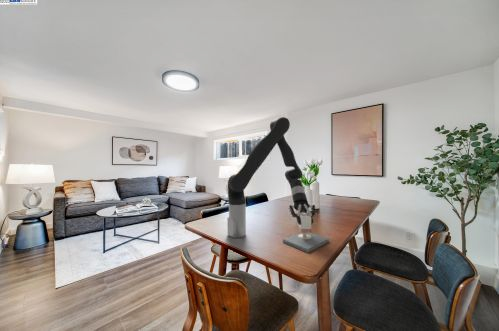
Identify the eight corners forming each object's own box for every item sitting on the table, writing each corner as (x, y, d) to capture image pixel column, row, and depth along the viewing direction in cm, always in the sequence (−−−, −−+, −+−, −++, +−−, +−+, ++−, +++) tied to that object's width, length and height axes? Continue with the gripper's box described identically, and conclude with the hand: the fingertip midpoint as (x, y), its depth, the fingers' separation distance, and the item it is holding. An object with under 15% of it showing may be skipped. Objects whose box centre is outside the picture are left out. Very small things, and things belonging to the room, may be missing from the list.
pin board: (308, 252, 78) (307, 240, 78) (282, 242, 89) (282, 231, 89) (328, 241, 89) (328, 230, 89) (304, 233, 100) (304, 223, 100)
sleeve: (311, 232, 89) (311, 216, 89) (301, 232, 89) (301, 216, 89) (308, 229, 94) (308, 213, 94) (298, 229, 94) (298, 213, 94)
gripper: (287, 192, 99) (292, 220, 87) (313, 191, 99) (322, 220, 87) (285, 199, 105) (290, 227, 92) (310, 199, 105) (318, 227, 92)
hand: (305, 223), depth 90 cm, fingers closed on sleeve, 5 cm apart
